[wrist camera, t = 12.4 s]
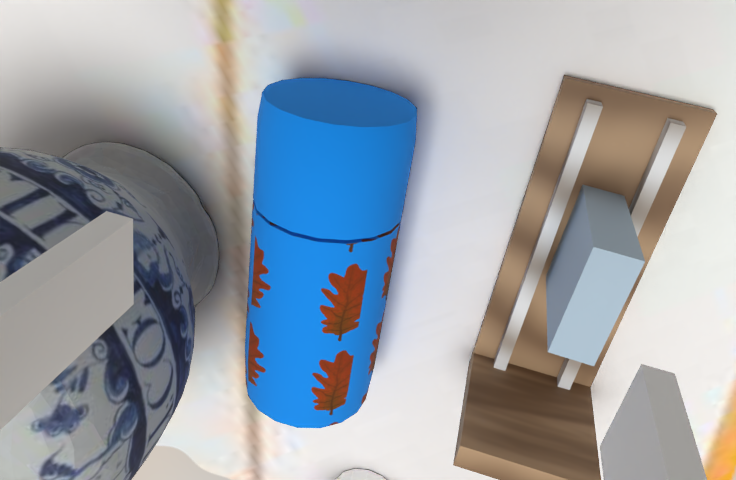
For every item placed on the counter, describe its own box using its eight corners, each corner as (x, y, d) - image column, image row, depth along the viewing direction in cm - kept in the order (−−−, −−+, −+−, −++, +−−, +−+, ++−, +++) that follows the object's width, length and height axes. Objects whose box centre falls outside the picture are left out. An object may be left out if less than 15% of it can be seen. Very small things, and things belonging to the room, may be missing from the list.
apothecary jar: (300, 346, 59) (115, 677, 33) (76, 361, 68) (-212, 634, 42) (206, 64, 49) (-170, 224, 23) (-45, 121, 57) (-531, 287, 31)
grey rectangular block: (582, 184, 45) (593, 246, 36) (624, 195, 45) (645, 261, 36) (545, 276, 49) (547, 352, 40) (583, 287, 49) (593, 366, 40)
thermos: (381, 361, 58) (431, 97, 46) (352, 445, 48) (405, 141, 37) (270, 331, 59) (291, 68, 47) (221, 407, 50) (231, 104, 38)
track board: (564, 75, 43) (573, 123, 33) (713, 109, 42) (772, 171, 31) (469, 363, 56) (453, 465, 45) (581, 396, 54) (591, 509, 44)
